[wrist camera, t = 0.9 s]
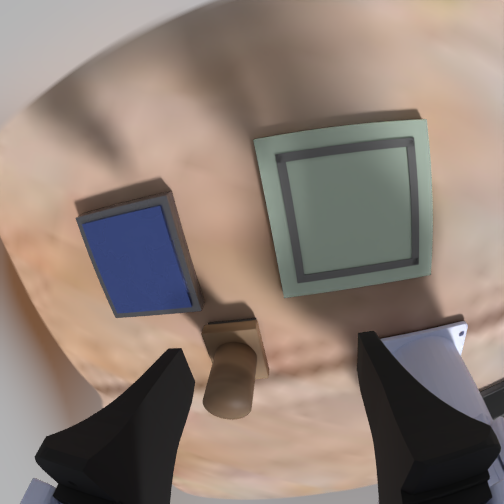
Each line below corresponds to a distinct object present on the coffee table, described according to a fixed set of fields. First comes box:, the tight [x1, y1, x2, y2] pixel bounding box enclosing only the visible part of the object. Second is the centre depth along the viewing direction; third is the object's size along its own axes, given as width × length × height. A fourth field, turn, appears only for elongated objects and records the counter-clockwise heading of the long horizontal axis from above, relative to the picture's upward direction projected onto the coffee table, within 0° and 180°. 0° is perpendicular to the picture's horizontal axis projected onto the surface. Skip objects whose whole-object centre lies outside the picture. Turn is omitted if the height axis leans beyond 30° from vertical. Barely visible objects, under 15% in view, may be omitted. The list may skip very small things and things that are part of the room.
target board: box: [253, 119, 433, 298], centre depth 18 cm, size 10×10×1 cm
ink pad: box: [76, 191, 205, 318], centre depth 21 cm, size 8×7×1 cm
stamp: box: [202, 318, 269, 419], centre depth 21 cm, size 5×4×6 cm
